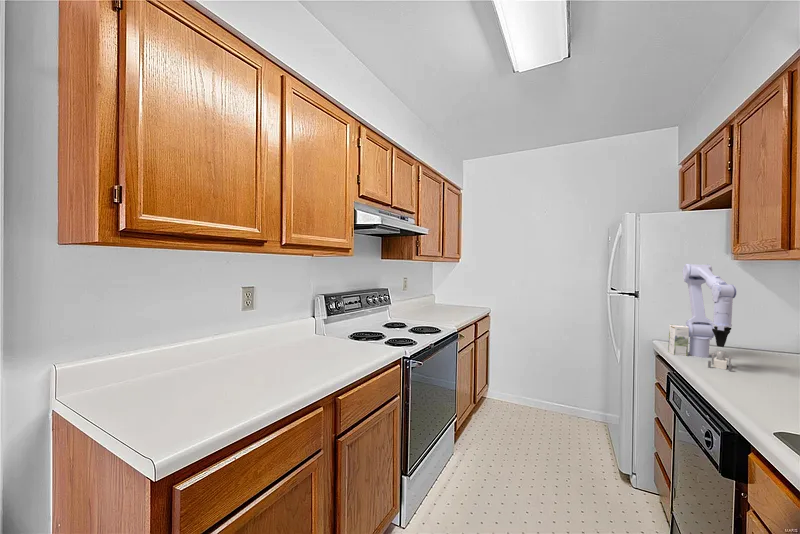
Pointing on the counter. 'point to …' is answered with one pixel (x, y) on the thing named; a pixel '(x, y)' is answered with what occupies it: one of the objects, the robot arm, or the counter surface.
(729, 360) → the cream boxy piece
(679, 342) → the syrup box
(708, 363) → the socket
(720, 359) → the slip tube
